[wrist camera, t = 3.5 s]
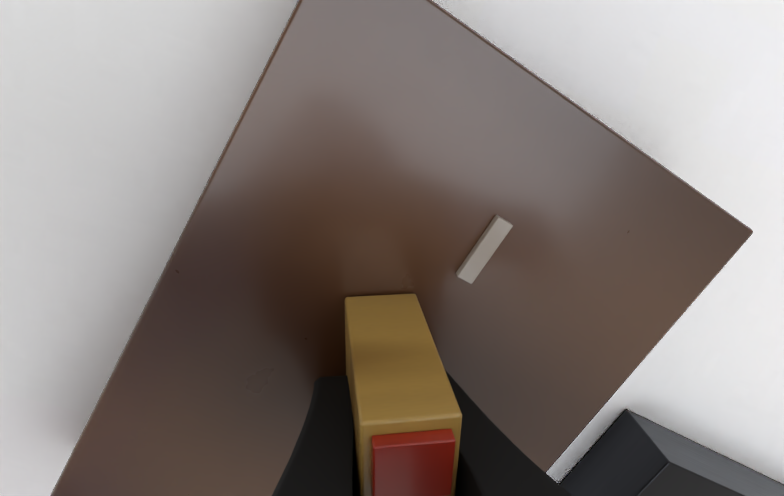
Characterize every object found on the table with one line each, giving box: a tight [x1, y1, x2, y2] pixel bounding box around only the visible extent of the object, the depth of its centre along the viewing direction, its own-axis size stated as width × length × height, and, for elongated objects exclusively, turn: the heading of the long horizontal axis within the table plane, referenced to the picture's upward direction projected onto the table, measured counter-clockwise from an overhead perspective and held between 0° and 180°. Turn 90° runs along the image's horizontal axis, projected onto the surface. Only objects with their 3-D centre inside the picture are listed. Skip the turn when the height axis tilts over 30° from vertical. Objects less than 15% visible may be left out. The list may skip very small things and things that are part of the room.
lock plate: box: [50, 0, 753, 496], centre depth 12 cm, size 14×10×3 cm
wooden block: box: [345, 294, 462, 496], centre depth 9 cm, size 5×1×4 cm, turn 179°
